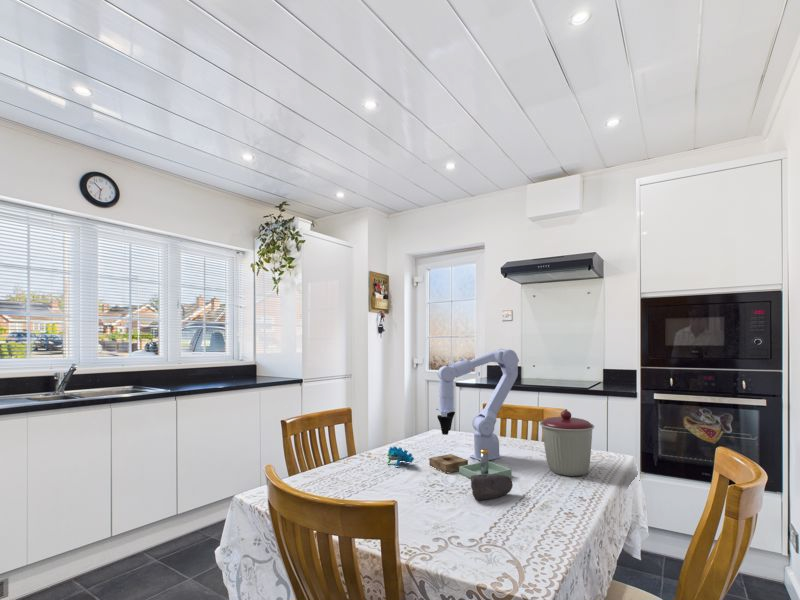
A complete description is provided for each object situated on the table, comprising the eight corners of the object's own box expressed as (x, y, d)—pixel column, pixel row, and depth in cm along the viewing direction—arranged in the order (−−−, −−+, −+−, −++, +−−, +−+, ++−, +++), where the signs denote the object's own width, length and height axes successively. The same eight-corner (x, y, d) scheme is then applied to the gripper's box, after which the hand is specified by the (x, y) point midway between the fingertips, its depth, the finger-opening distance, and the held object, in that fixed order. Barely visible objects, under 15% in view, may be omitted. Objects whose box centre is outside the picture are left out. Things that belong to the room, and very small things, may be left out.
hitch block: (450, 461, 166) (450, 453, 166) (468, 468, 157) (467, 460, 158) (429, 466, 161) (429, 458, 161) (445, 473, 152) (445, 464, 152)
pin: (485, 472, 152) (485, 448, 152) (490, 474, 149) (489, 450, 150) (479, 473, 150) (479, 449, 151) (483, 475, 148) (483, 451, 149)
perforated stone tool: (508, 491, 135) (507, 468, 135) (518, 497, 130) (517, 473, 130) (465, 498, 130) (464, 474, 130) (474, 504, 125) (473, 479, 125)
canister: (536, 475, 149) (534, 413, 150) (545, 461, 165) (543, 405, 166) (594, 483, 140) (591, 417, 142) (598, 468, 156) (595, 408, 158)
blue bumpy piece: (419, 460, 163) (404, 444, 158) (413, 475, 159) (398, 459, 155) (397, 459, 170) (382, 444, 165) (391, 473, 166) (376, 458, 161)
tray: (487, 467, 158) (487, 460, 158) (511, 476, 148) (511, 469, 148) (459, 474, 151) (459, 466, 152) (482, 484, 141) (482, 476, 141)
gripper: (439, 394, 179) (439, 427, 178) (433, 399, 165) (433, 435, 164) (456, 394, 177) (456, 428, 176) (452, 400, 163) (452, 437, 162)
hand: (446, 432), depth 170 cm, fingers open, 7 cm apart
